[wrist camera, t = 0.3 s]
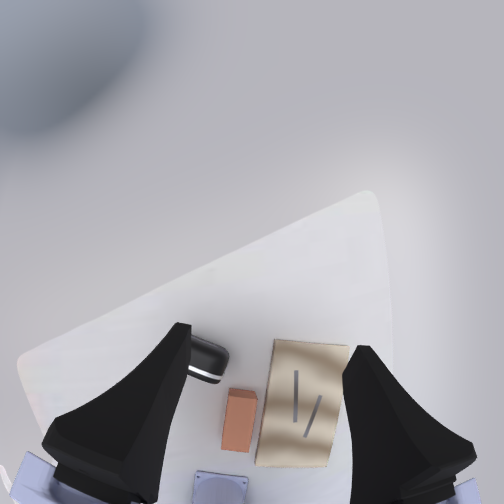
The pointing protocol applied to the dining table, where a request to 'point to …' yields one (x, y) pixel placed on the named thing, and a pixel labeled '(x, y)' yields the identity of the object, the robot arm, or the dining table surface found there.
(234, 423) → the block
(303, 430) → the board
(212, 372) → the battery charger
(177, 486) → the dining table surface
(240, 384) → the dining table surface
